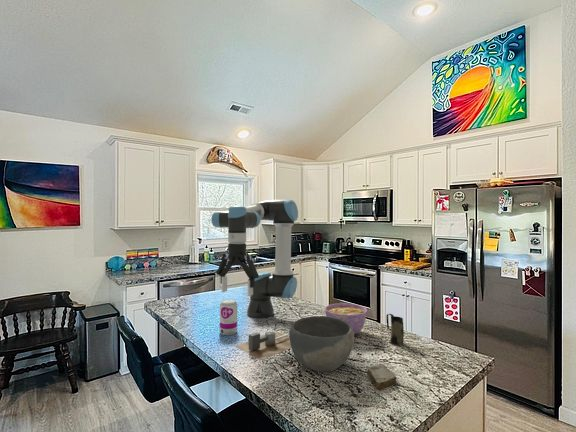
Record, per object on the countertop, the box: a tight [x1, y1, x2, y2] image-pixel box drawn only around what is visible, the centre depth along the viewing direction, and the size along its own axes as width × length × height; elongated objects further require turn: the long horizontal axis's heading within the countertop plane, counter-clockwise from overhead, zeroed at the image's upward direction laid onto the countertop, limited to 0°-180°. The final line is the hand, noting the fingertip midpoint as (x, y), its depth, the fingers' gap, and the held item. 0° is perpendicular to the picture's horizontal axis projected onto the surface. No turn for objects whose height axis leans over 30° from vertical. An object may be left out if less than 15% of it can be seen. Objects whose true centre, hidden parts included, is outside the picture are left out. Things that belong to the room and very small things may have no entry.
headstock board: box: [234, 331, 292, 360], centre depth 141 cm, size 24×20×2 cm
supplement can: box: [219, 298, 238, 336], centre depth 158 cm, size 8×8×15 cm
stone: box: [366, 363, 397, 392], centre depth 113 cm, size 15×8×3 cm, turn 3°
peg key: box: [248, 331, 289, 351], centre depth 140 cm, size 21×4×6 cm, turn 134°
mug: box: [386, 313, 405, 347], centre depth 145 cm, size 8×6×12 cm
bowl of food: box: [324, 302, 368, 335], centre depth 157 cm, size 20×20×12 cm
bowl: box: [288, 315, 355, 373], centre depth 124 cm, size 24×24×15 cm
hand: (237, 293), depth 139 cm, fingers open, 13 cm apart
